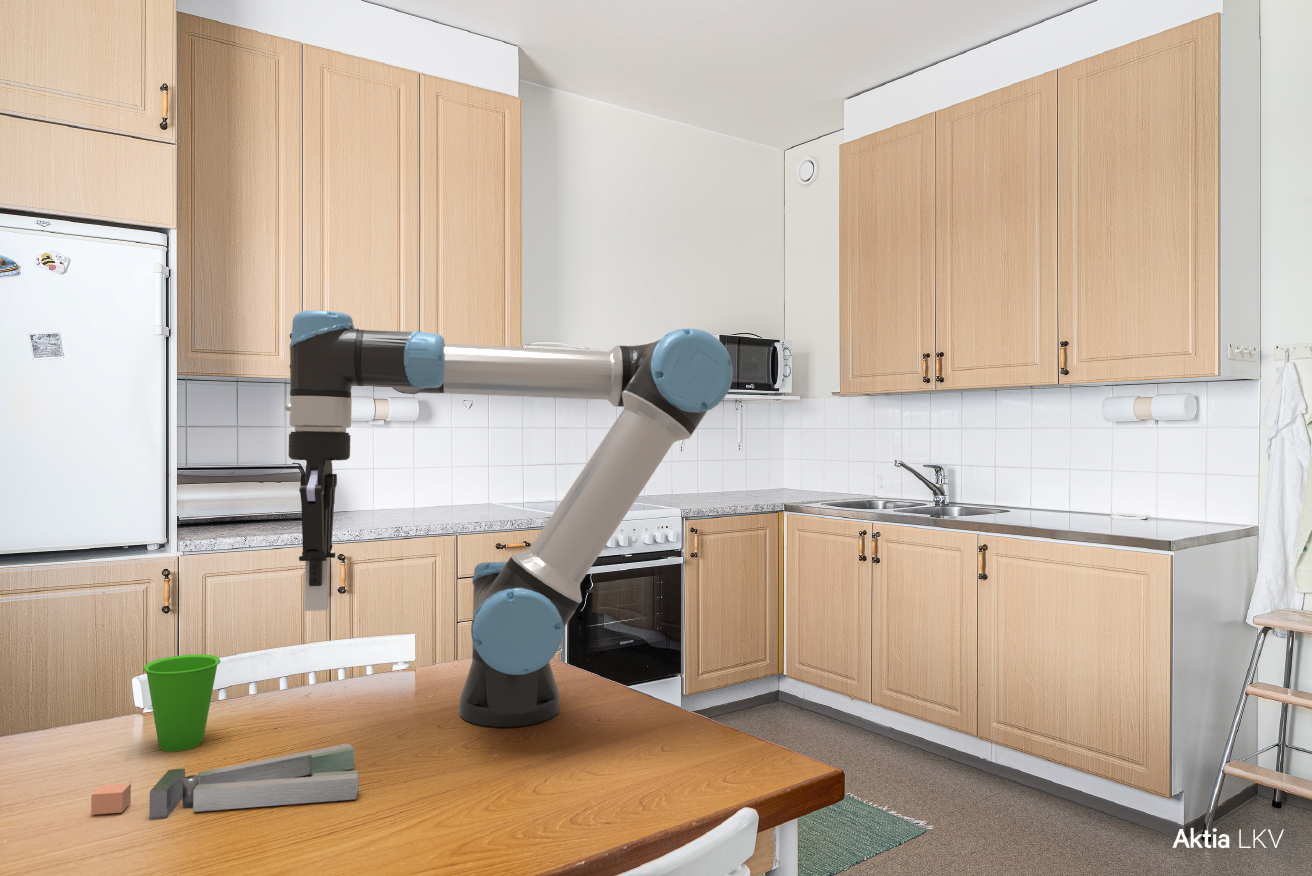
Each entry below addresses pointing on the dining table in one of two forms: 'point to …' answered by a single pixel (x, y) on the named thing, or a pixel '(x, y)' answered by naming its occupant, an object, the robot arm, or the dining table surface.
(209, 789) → the tongs base
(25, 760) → the dining table surface
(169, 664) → the cup
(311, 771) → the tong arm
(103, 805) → the tab
